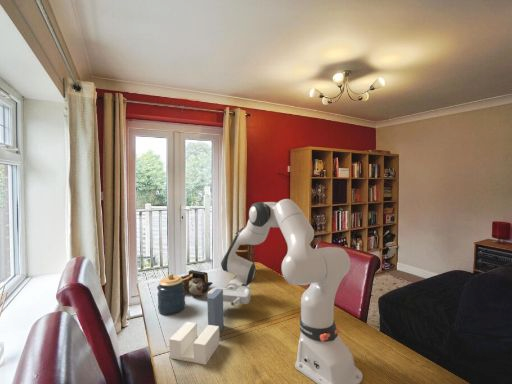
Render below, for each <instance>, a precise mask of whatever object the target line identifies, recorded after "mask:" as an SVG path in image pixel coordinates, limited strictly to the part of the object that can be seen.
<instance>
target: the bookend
mask: <svg viewBox="0 0 512 384" xmlns="http://www.w3.org/2000/svg"><path fill="white" fill-rule="evenodd" d="M181 278H182V279H183V281H182V282H184V283H185V285H184V289H185V294H186V293H188V294H189V293H190V294H191V296H192V297H194V298H200V297H201V296H203V295H204V294H206V293H208V292H209V287H211V286H212V285H213V282H212V281H209V276H208V272H206V271H201V270H200V271H199V270H193V269H191V270H189V271H188V274H185V275H183V276H181Z"/></svg>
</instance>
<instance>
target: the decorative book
mask: <svg viewBox="0 0 512 384" xmlns="http://www.w3.org/2000/svg"><path fill="white" fill-rule="evenodd" d="M241 229H245V227H242V228H240V229H239V230H238V231H237V232H236V233H233V234H234V237H235V236H236V234H237V233H238V232H239V231H240V230H241ZM236 254H237V255H238V256H240V257H242V258H244V259H246V260H248V261H250V262H252V263H254V264H255V245H249V244H241V245H240V246H239V247H238V249H237V251H236Z"/></svg>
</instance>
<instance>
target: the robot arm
mask: <svg viewBox="0 0 512 384" xmlns="http://www.w3.org/2000/svg"><path fill="white" fill-rule="evenodd" d="M270 228H279V230H280V231H281V234H282V235H283V238H284V239H285V243H286V245H287V251H286V252H287V253H286V255H285V256H284V258H283V260H282V262H281V265H280V266H281V274H282V276H283V279H284V280H285V281H286V282H287V283H288V284H289V285H291V286H293V285H294V286H307V285H309V286H308V287H307V288H306V290H305V291H304V292H303V293H302V295H301V298H300V317H299V331H300V335H299V338H298V347H297V354H296V361H295V365H294V368H295V369H296V370H297V371H298V372H300V373H301V374H303V375H304V376H305V377H307V378H308V379H310V380H312V381H313V382H314V383H316V384H360V383H361V382H362V380H363V373H362V371H361V370H360V369H359V368H358V367H357V366H356V365H355V360H354V356H353V354H352V353H351V350H350V347H349V345H346V344H345V343H344V341H343V340H342V339H341V337H340V336H339V333H341V331H340V330H341V328H337V325H336V321H335V319H334V317H335V315H334V312H335V299H336V294H337V291H338V288H339V286H340V284H341V282H342V280H343V279H344V277H345V276H346V275H347V274H348V273H349V272H350V269H351V265H352V264H351V258H350V255H349V253H347V251H346V250H345V249H344V248H342V247H337V246H326V247H320V248H319V247H318V248H313V247H312V246H311V245H310V244H311V242H313V240H314V237H315V230H314V228H313V226H312V225H311V223H310V222H309V220H308V218H307V216H306V215H305V213H304V211H303V210H302V209H301V208H300V207H299V206H298V205H297V203H296V202H294V201H293V200H292V199H290V198H284V199H281V200H279V201H277V202H276V201H264V202H263V201H257V202H255V203H253V204H251V206H250V208H249V210H248V220H247V223H246V226H245V227H244V229H242V228H240V229H241V230H240V229H239V230H240V231H239V230H238V231H239V232H238V231H237V232H238V233H237V232H236V233H237V234H236V236H234V237H233V239H232V242H231V243H230V245H229V248H228V249H227V251H226V253H225V255H224V256H223V257H222V259H221V262H220V265H221V269H222V271H224V272H225V273H229V274H231V275H233V278H232V279H231V280H230V281H229V282H228V283H227V284H225V287H218V286H216V287H213V288H212V289H210V290H208V291H207V298H208V297H209V296H210V295H211V294H212V293H213V292H214V291H215V290H216V289H222V290H223V303H224V302H227V303H230V304H231V306H234V307H235V305H238V304H244V305H247V304H249V302H250V301H251V295H252V293H251V286H250V284H251V283H252V282H253V280H254V278H255V276H256V274H257V268H256V265H255V262H254V263H252V262H250V261H248V260H246V259H244V258H242V257H240V256H238V255H237V254H236V251H237V249H238V247H239V246H240V245H241V244H249V245H254V246H256V245H257V246H258V245H261V244H262V243H264V242H265V240H266V239H267V237H268V235H269V233H270Z"/></svg>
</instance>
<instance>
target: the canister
mask: <svg viewBox="0 0 512 384" xmlns="http://www.w3.org/2000/svg"><path fill="white" fill-rule="evenodd" d="M182 281H183V279H182V278H181V277H180V276H179V275H174V274H173V273H169V274H168V275H167V276H165V277H163V278H161V279H160V280H159V281H158V285H157V287H156V290H157V291H158V292H157V294H156V295H157V310H158V313H159V314H160V315H165V316H170V315H172V316H173V315H175V314H178V313H181V312H183V310H185V308H186V298H185V297H186V296H185V294H186V293H185V289H184V285H185V283H184V282H182Z"/></svg>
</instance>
